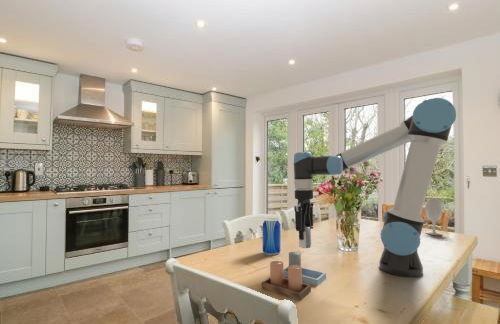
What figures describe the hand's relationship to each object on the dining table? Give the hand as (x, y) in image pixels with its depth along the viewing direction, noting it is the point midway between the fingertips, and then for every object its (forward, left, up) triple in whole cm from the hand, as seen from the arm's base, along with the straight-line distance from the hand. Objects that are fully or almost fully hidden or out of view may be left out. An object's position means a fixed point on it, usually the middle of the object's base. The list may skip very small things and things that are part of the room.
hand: (305, 245), depth 115 cm
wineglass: (-39, -96, -8) cm, 104 cm away
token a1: (-2, +26, -8) cm, 27 cm away
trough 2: (-5, +13, -8) cm, 16 cm away
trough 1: (-5, +26, -8) cm, 28 cm away
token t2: (-9, +26, -8) cm, 28 cm away
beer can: (+20, -5, -8) cm, 22 cm away
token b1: (-2, +13, -8) cm, 15 cm away
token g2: (0, 0, 0) cm, 0 cm away
